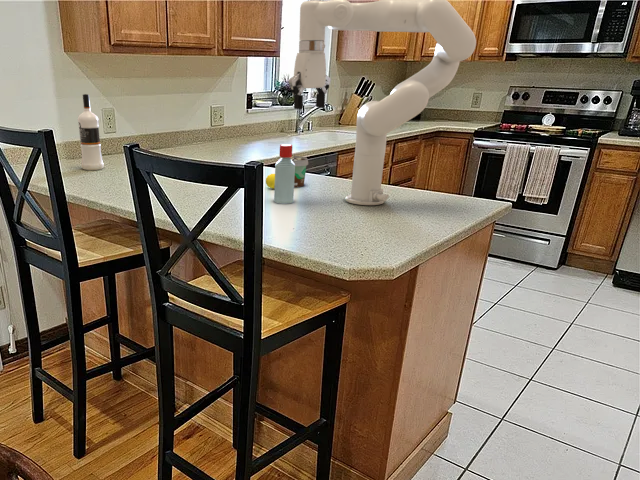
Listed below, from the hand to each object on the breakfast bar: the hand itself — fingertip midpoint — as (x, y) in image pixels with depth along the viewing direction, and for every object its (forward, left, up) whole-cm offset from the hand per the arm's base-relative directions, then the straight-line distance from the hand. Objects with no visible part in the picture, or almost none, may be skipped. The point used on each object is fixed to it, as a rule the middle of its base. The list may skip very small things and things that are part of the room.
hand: (309, 108), depth 165 cm
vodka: (+95, +34, -29) cm, 105 cm away
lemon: (+20, -4, -29) cm, 36 cm away
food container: (+19, -16, -29) cm, 38 cm away
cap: (+2, +7, -15) cm, 16 cm away
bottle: (+2, +7, -29) cm, 30 cm away
